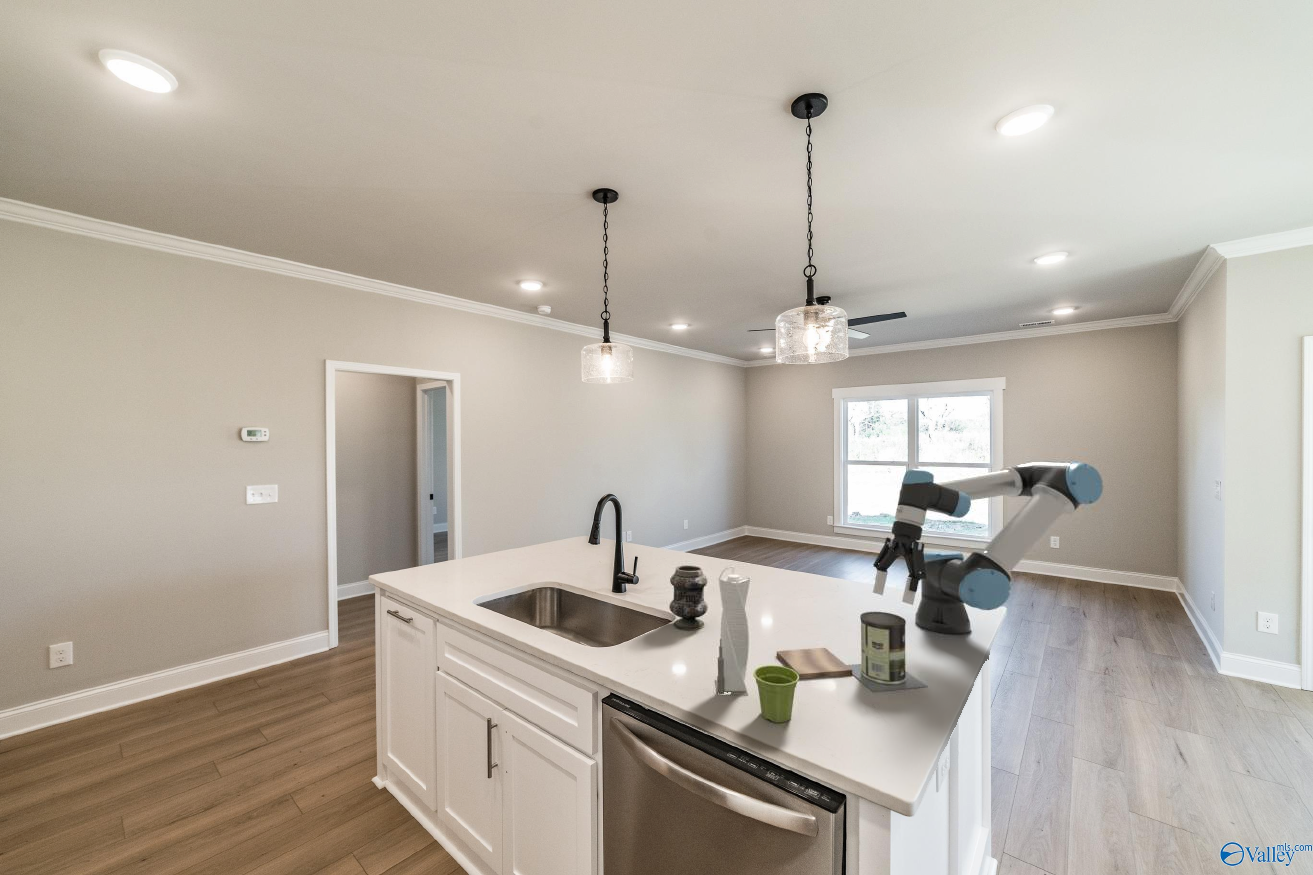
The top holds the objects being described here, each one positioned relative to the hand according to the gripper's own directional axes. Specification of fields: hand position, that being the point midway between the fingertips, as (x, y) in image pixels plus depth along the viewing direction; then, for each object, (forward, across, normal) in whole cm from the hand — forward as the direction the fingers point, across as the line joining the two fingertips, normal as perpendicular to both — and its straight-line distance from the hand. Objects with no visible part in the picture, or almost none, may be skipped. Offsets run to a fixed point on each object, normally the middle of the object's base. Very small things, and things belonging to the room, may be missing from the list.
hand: (891, 598), depth 143 cm
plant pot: (+30, +25, -37) cm, 54 cm away
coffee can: (+19, +12, -6) cm, 23 cm away
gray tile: (+19, +12, -6) cm, 23 cm away
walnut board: (+22, +3, -19) cm, 30 cm away
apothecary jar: (+27, -31, -44) cm, 60 cm away
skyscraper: (+31, +11, -42) cm, 53 cm away
